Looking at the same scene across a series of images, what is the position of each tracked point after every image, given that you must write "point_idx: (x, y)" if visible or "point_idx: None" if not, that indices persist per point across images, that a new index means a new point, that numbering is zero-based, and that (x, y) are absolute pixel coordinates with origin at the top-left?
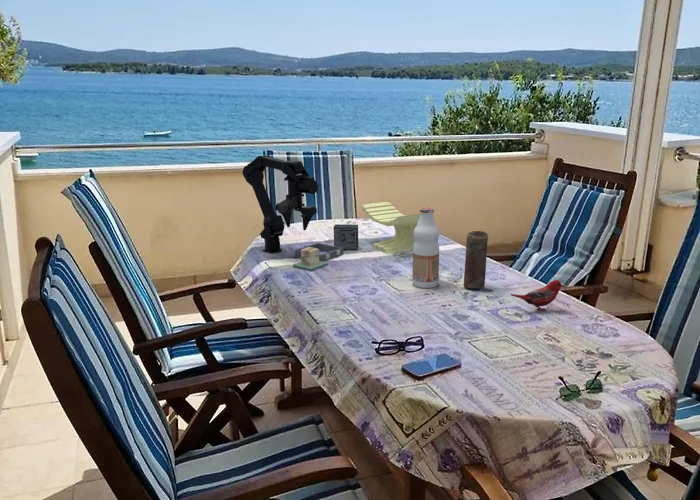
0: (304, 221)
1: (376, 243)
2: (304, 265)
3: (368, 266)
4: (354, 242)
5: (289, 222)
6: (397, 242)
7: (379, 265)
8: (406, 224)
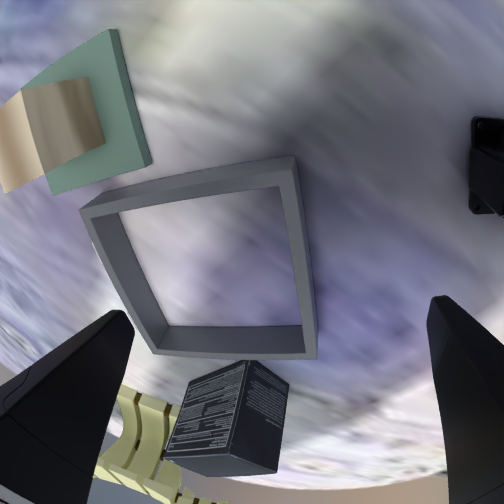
0: (11, 381)
1: None
2: (63, 80)
3: (25, 275)
4: (185, 404)
5: (444, 382)
6: (147, 430)
7: (29, 298)
8: None
